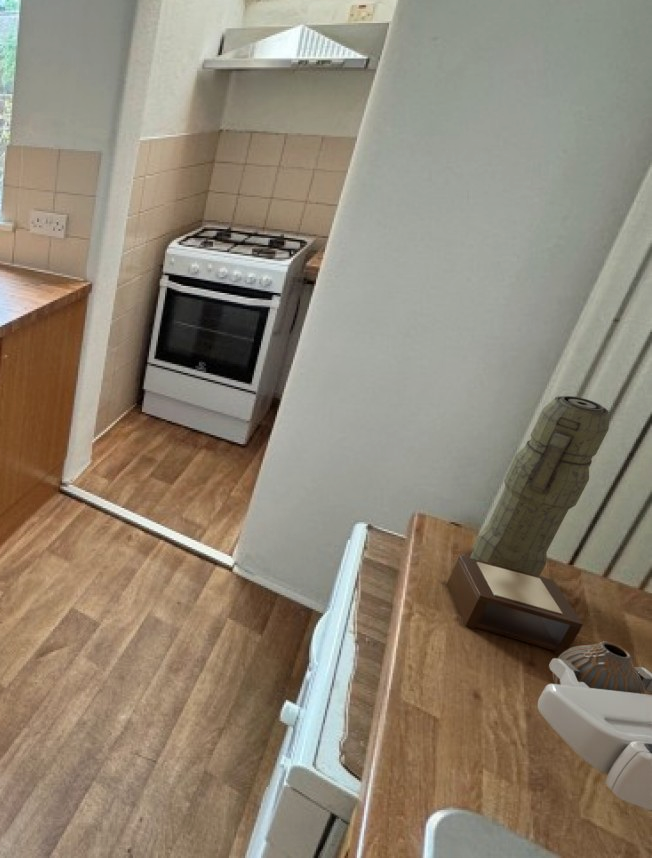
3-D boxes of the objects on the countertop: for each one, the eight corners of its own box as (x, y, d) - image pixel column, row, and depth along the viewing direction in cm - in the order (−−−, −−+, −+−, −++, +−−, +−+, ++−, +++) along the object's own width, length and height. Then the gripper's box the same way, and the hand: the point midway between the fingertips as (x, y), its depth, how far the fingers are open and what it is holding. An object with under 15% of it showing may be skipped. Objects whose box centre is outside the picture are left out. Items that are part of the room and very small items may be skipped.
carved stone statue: (461, 573, 108) (539, 403, 96) (473, 544, 116) (547, 382, 103) (529, 603, 102) (622, 426, 89) (537, 570, 109) (624, 402, 97)
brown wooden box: (535, 611, 101) (553, 578, 98) (563, 658, 92) (584, 623, 90) (445, 585, 106) (460, 553, 103) (464, 628, 97) (480, 594, 95)
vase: (545, 666, 77) (574, 615, 74) (625, 704, 73) (659, 652, 70) (542, 700, 73) (572, 647, 70) (627, 742, 68) (663, 688, 65)
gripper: (868, 784, 57) (705, 657, 70) (627, 755, 59) (512, 637, 72) (830, 825, 59) (679, 695, 72) (599, 796, 61) (492, 675, 74)
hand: (594, 666), depth 72 cm, fingers closed on vase, 7 cm apart
